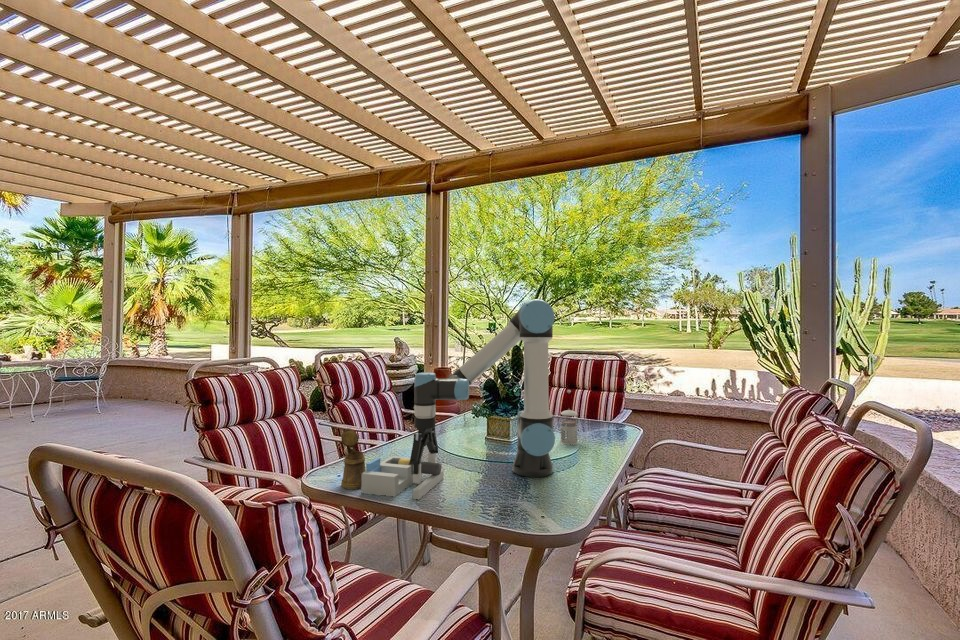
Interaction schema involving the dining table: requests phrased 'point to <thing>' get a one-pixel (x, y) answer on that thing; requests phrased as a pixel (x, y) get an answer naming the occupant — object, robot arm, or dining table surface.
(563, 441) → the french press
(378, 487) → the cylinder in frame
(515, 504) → the dining table surface
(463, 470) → the dining table surface
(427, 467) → the rod
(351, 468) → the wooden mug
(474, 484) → the dining table surface
